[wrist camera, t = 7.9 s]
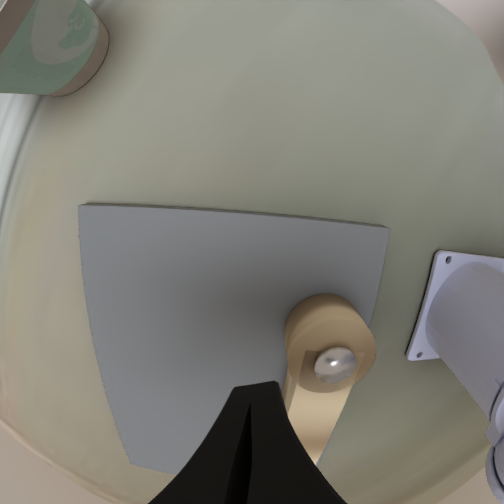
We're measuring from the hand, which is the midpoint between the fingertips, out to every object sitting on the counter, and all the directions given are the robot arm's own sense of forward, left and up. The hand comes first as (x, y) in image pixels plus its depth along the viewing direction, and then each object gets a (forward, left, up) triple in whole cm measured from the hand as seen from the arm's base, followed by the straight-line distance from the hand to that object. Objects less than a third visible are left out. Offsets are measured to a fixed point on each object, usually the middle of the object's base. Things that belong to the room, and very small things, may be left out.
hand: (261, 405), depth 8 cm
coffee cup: (+13, -15, -9) cm, 22 cm away
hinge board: (+2, +8, -9) cm, 12 cm away
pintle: (-4, +1, -4) cm, 6 cm away
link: (-3, +7, -8) cm, 11 cm away
